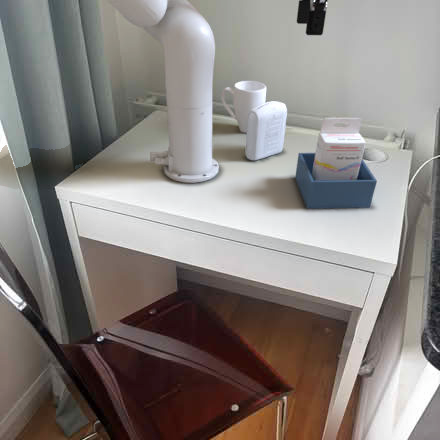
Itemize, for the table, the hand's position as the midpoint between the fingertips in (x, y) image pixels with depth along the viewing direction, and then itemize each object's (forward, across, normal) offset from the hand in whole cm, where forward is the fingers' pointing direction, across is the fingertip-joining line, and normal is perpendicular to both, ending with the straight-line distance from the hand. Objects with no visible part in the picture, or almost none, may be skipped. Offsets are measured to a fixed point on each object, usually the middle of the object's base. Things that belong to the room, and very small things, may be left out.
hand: (308, 28), depth 90 cm
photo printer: (+28, -4, -6) cm, 29 cm away
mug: (+28, -20, -10) cm, 36 cm away
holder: (+28, +14, +6) cm, 32 cm away
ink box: (+28, +14, +6) cm, 32 cm away
